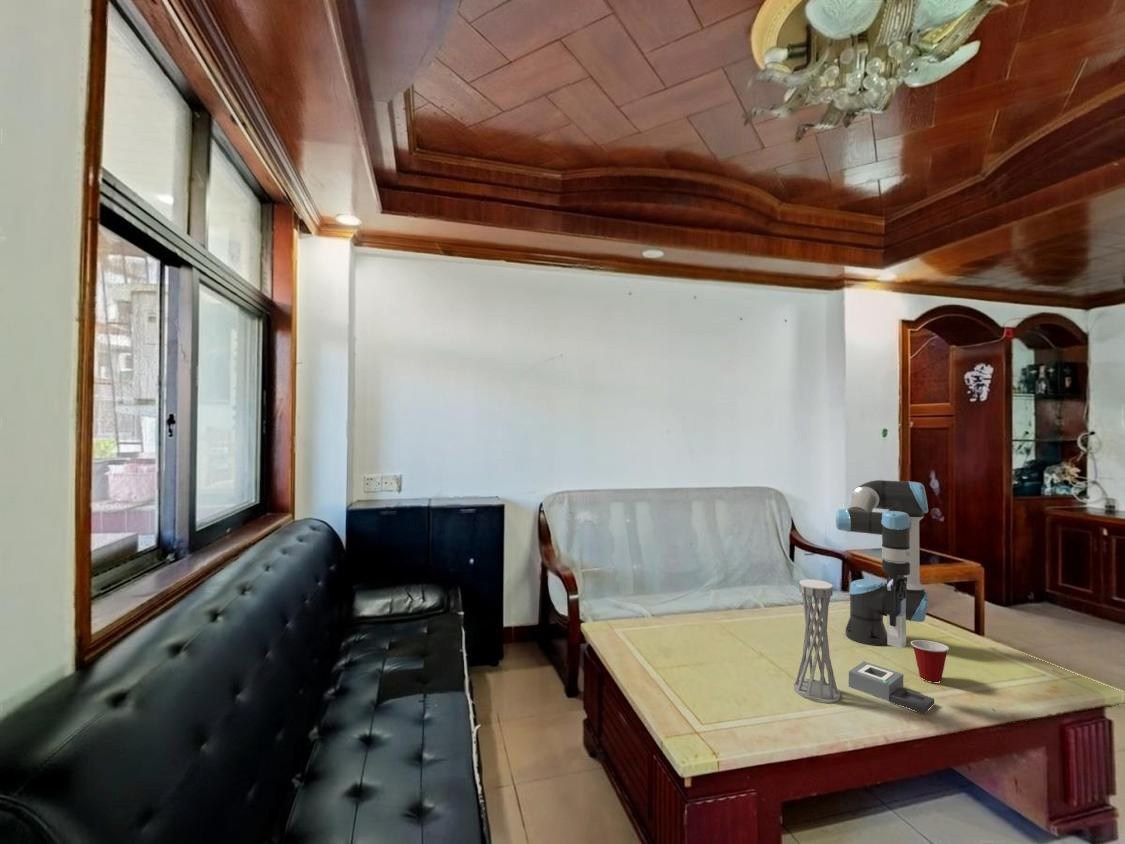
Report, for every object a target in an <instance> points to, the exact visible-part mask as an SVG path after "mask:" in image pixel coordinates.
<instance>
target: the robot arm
mask: <svg viewBox="0 0 1125 844" xmlns="http://www.w3.org/2000/svg"><path fill="white" fill-rule="evenodd" d="M925 488H926V487H925V486H924V484H923V483H921V482H915V481H908V480H907V481H904V480H883V479H878V480H875V479H874V480H870V481H867V482H865V483H862V484H860V485H858V486H857V487H856V488H855V489H854V490H853V492H852V493H851V494H852V495H851V501H850V503H849V505H848V507H847V508H844V509H843V508H841V509H840V508H839V509H837V511H836V512H835V526H836V529H837V530H838V531H843V532H847V533H862V534H871V535H881V541H882V543H881V544H882V545H881V558H882V560H881V570H882V572H884V573H886V574H887V575H888V577H887V579H886V582H885V583H884V582H883V581H881V580H879V579H871V578H861V579H860V578H859V579H855V580H853V581H851V583H850V585H849V586H850V587H849V601H850V602H849V605H850V606H849V613H850V614H849V615H850V616H849V619H848V620H847V623H846V626H845V636H846V637H847V638H848V639H849V640H852V641H854V642H857V643H860V644H865V645H871V646H883V645H884V646H885V645H887V627H886V626H885V623H884V617H887V614H888V617H889V635H892V636H896V637H899V616H898V600H899V597H902V598H906V621H909V622H917V623H921V622H922V623H923V622H925V620H926V617H927V609H928V603H929V598H930V597H929V596H930V594H929V592H927V591H925V586H924V585H923V584H922V583H921V582H920V578H921V577H920V576H921V575H920V569H921V568H920V521H921V520H922V519H923V518H924V517H925V514H927V513H928V512H929V508H928V507H929V506H928V498H927V493H926V489H925ZM874 509H876V510H885V511H883V512H881V511H880V512H878V511H873V510H874ZM886 510H887V511H886Z"/></svg>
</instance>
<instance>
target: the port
mask: <svg viewBox="0 0 1125 844" xmlns="http://www.w3.org/2000/svg"><path fill="white" fill-rule="evenodd" d="M848 687H849V688H852V689H854V690H857V691H860V692H862V691H863V693H865V692H866V693H865V694H868V693H869V694H868V695H870V694H872V695H871V696H873V695H875V696H874V697H876V696H877V697H876V698H879V697H881V698H883V699H882V700H884V699H886V700H885V701H887V700H890V696H891V695H892V694H894V693H895V692H896V691H897V690H898V689H900V688H901V687H902V688H904V673H901V672H898V671H895V670H891V669H888V668H885V667H882V666H880V665H876V664H873V663H870V662H867V661H862V662H860V663H859V664H857V665H856V666H854V667H853V668H851V669H850V670H849V671H848ZM881 698H880V699H881Z"/></svg>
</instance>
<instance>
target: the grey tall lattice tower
mask: <svg viewBox="0 0 1125 844" xmlns="http://www.w3.org/2000/svg"><path fill="white" fill-rule="evenodd" d="M833 586H834V585H833V584H832V583H830V582H827V581H824V580H818V579H809V578H808V579H802V580H801V579H800V581H799V592H800V593H801V595H802V601H803V603H802V604H803V611H804V612H803V613H804V622H805V623H804V624H805V628H804V629H805V630H804V638H803V639H804V640H803V649H802V657H801V660H800V664H799V669H798V671H797V676H796V677H797V678H796V681H795V682H794V684H793V690H794V691H795V693H796V694H797V695H799V696H800V697H802V698H804V699H807V700H808V701H809V700H810V701H812V702H818V703H826V704H829V703H831V704H833V703H835V702H838V701H839V700H840V696H841V694H840V690H839V689H838V687H837V682H836V679H835V674H834V670H833V666H832V662H831V656H830V647H829V638H828V621H829V619H828V618H829V608H830V607H829V606H830V601H831V597H833V594H834V593H833ZM812 600H813V602H814V607H813V603H812ZM819 605H820V608H819ZM816 616H817V617H816ZM820 649H821V656H820ZM813 650H814V651H815V652H814V653H815V654H814V657H813V656H812V653H813ZM812 657H813V658H812ZM817 664H818V669H819V673H820V680H819V679H815V678H814V677H815V673H816V668H817ZM808 666H809V667H808ZM808 668H809V676H810V677H809V678H805V677H806V674H807V670H808ZM825 668H826V672H827V681H826V677H825Z"/></svg>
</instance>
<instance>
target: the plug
mask: <svg viewBox="0 0 1125 844" xmlns="http://www.w3.org/2000/svg"><path fill="white" fill-rule="evenodd" d="M898 616H899V637H896V636H892V635H889V617H888V614H887V616H886V617H887V618H886V619H887V620H886V621H887V622H886V624H887V625H886V631H887V644H886V645H888V646H890V647H891V646H892V647H894V648H898V649H901V650H902V649H903V648H904V647H905V646H907V622H906V621H907V620H906V598H902V597H899V600H898Z"/></svg>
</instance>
